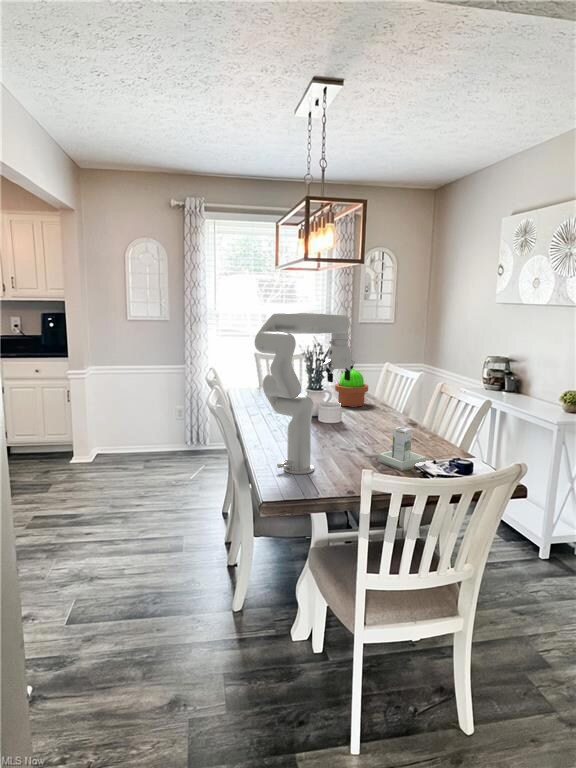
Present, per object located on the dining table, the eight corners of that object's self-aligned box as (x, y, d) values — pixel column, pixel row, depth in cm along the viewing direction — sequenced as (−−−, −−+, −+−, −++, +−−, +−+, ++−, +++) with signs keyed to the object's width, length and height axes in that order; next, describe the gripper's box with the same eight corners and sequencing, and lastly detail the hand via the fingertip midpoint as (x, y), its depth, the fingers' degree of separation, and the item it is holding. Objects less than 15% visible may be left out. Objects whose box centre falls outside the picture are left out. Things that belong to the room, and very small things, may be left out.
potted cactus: (363, 409, 309) (365, 371, 305) (331, 406, 317) (331, 369, 312) (370, 402, 329) (371, 367, 325) (339, 400, 337) (340, 365, 333)
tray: (402, 470, 196) (402, 462, 195) (378, 461, 207) (378, 453, 207) (425, 464, 203) (426, 457, 202) (401, 456, 215) (401, 448, 214)
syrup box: (398, 457, 209) (399, 425, 206) (410, 460, 205) (412, 428, 203) (391, 461, 205) (392, 428, 202) (403, 464, 201) (405, 430, 198)
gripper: (329, 344, 204) (328, 383, 207) (360, 342, 213) (358, 380, 216) (318, 343, 210) (318, 381, 213) (349, 341, 219) (348, 378, 222)
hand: (338, 381), depth 215 cm, fingers open, 9 cm apart
